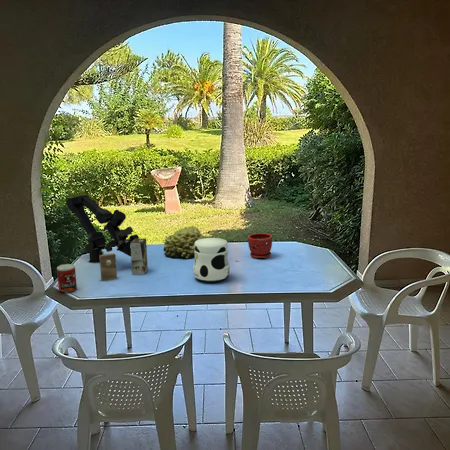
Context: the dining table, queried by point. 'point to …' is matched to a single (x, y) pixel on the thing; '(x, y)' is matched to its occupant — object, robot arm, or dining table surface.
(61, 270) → the canned food
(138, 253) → the coffee box
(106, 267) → the dot tablet
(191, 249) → the green lumpy mound
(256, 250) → the plant pot
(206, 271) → the milk container
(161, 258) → the dining table surface
